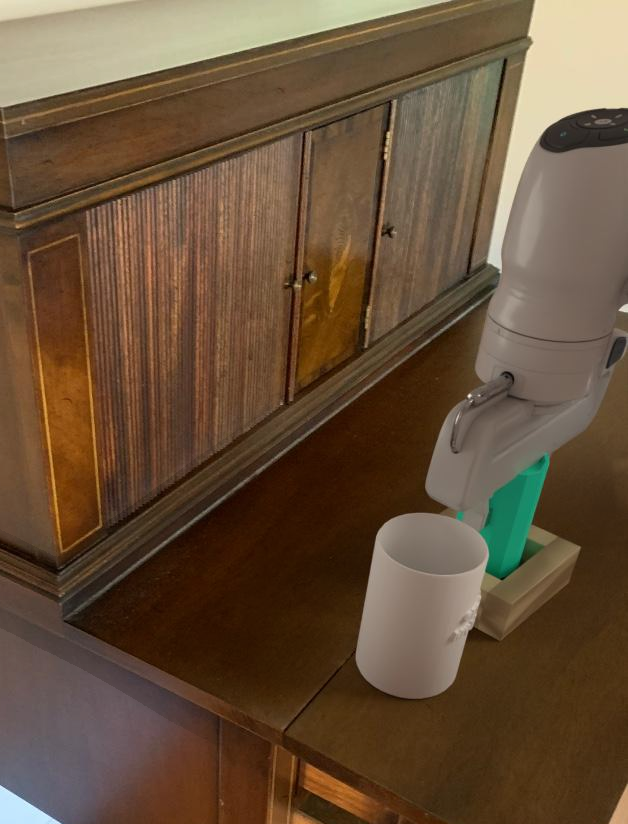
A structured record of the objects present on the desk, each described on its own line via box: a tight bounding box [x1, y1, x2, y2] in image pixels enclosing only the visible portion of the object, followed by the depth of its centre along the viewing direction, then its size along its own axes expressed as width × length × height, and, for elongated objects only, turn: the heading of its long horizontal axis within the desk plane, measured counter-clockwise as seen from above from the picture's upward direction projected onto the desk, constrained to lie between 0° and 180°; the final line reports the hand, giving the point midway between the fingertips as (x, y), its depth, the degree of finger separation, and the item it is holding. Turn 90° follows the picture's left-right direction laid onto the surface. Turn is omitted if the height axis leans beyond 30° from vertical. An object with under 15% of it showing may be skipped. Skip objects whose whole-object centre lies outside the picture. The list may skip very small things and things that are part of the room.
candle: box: [456, 453, 550, 580], centre depth 77 cm, size 6×6×12 cm
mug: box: [355, 512, 489, 700], centre depth 71 cm, size 8×12×12 cm
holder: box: [438, 507, 582, 642], centre depth 81 cm, size 11×11×4 cm
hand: (497, 509), depth 77 cm, fingers closed on candle, 5 cm apart
